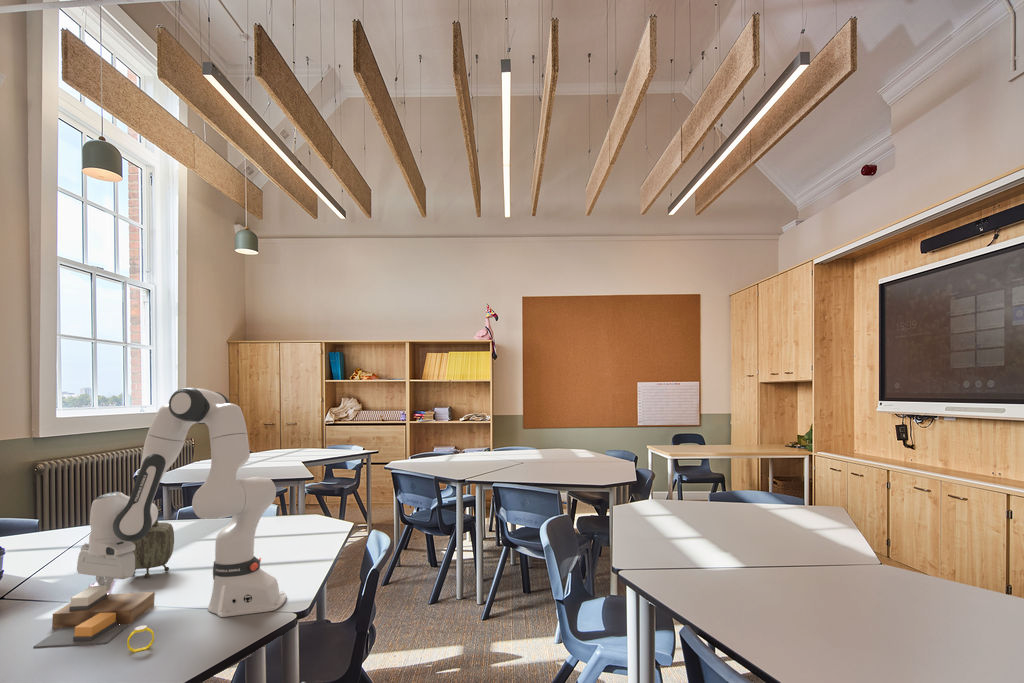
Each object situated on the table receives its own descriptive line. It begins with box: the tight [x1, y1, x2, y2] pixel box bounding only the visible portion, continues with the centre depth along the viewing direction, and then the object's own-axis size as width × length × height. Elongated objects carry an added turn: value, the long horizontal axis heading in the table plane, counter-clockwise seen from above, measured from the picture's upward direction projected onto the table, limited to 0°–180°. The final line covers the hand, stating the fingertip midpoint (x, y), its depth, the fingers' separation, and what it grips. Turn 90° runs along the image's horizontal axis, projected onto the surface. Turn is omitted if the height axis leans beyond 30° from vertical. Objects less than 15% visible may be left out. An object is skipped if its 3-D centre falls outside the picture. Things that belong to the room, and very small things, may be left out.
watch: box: [126, 624, 155, 654], centre depth 153 cm, size 6×3×6 cm, turn 124°
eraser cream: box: [69, 585, 107, 611], centre depth 174 cm, size 5×10×4 cm, turn 7°
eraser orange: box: [73, 613, 117, 641], centre depth 162 cm, size 5×10×4 cm, turn 0°
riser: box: [51, 591, 156, 629], centre depth 174 cm, size 21×14×4 cm, turn 97°
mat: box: [33, 624, 130, 649], centre depth 161 cm, size 18×12×1 cm, turn 97°
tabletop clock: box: [130, 505, 175, 579], centre depth 210 cm, size 14×9×25 cm, turn 111°
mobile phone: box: [87, 580, 116, 594], centre depth 196 cm, size 8×1×15 cm
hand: (104, 590), depth 182 cm, fingers closed
